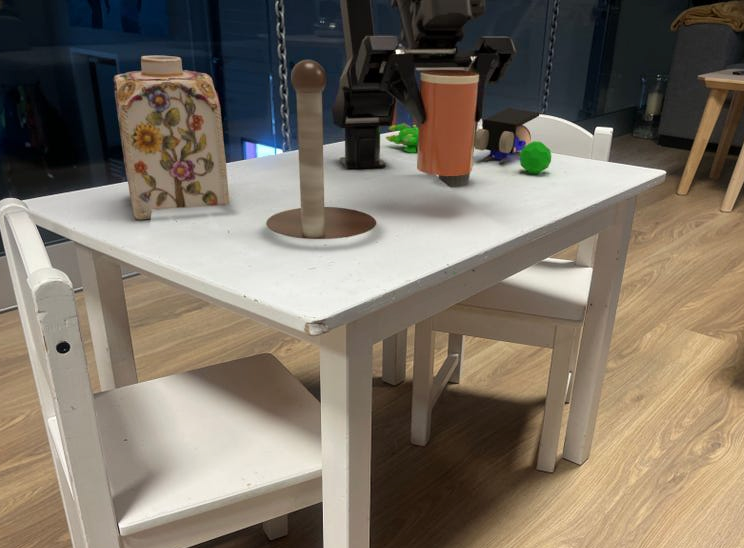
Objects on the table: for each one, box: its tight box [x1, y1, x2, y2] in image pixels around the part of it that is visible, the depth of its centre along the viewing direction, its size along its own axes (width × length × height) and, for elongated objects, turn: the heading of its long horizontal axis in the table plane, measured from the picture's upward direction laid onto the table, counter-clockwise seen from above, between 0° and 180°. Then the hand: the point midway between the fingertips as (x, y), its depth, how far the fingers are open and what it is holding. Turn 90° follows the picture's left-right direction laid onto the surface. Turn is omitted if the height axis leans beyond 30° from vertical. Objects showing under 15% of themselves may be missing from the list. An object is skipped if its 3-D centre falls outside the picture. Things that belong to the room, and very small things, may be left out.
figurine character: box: [474, 107, 540, 164], centre depth 125 cm, size 7×8×15 cm
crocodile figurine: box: [385, 122, 419, 153], centre depth 128 cm, size 7×18×4 cm, turn 56°
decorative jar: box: [113, 55, 230, 221], centre depth 90 cm, size 12×12×18 cm
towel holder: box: [265, 59, 377, 240], centre depth 81 cm, size 13×13×19 cm
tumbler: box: [416, 70, 479, 176], centre depth 86 cm, size 7×7×11 cm
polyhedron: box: [518, 140, 552, 175], centre depth 115 cm, size 5×5×5 cm
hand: (451, 121), depth 84 cm, fingers closed on tumbler, 7 cm apart
